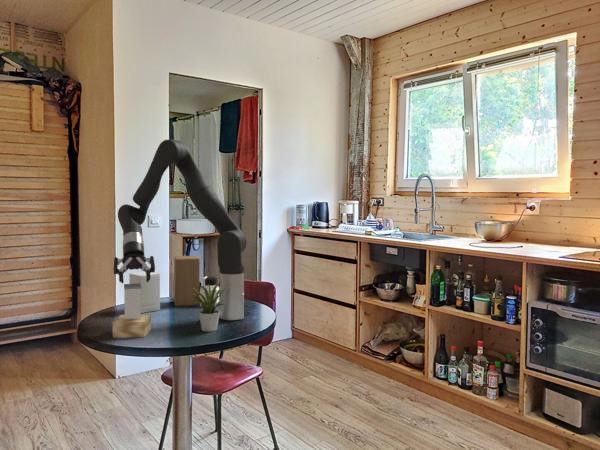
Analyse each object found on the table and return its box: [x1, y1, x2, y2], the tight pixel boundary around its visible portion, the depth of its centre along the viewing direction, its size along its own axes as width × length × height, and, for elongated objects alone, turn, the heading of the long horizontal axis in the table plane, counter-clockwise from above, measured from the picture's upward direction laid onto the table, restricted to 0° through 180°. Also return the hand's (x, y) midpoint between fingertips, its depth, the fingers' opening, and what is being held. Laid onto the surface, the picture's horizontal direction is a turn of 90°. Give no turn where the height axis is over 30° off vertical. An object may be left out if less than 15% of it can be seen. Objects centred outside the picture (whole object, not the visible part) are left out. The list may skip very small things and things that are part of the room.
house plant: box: [192, 283, 229, 332], centre depth 162 cm, size 14×14×16 cm
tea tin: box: [123, 283, 142, 321], centre depth 155 cm, size 5×5×11 cm
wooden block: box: [173, 255, 201, 307], centre depth 201 cm, size 10×10×20 cm
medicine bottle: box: [199, 275, 219, 307], centre depth 200 cm, size 7×7×12 cm
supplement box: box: [128, 271, 161, 314], centre depth 188 cm, size 9×9×15 cm
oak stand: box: [112, 313, 152, 339], centre depth 156 cm, size 10×10×5 cm
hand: (135, 281), depth 168 cm, fingers open, 8 cm apart
